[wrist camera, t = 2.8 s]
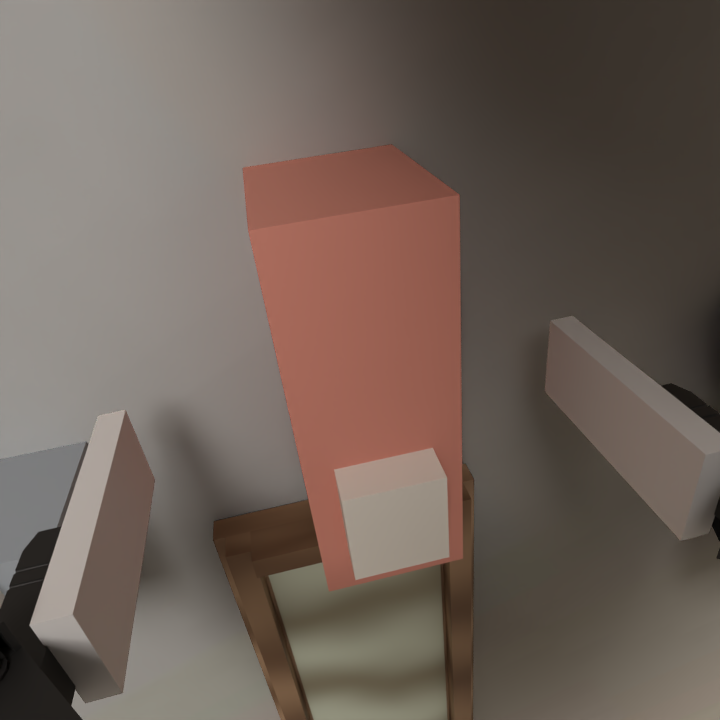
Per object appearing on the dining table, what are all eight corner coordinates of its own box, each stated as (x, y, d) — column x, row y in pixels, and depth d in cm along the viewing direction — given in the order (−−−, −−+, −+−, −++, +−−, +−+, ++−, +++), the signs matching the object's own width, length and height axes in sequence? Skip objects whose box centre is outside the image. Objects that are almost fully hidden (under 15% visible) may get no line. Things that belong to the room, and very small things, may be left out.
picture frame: (213, 521, 23) (212, 571, 21) (465, 463, 24) (487, 505, 22) (310, 785, 37) (315, 831, 35) (467, 740, 38) (481, 782, 36)
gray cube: (-46, 468, 19) (-166, 662, 13) (86, 440, 20) (26, 616, 14) (11, 551, 22) (-69, 746, 16) (128, 525, 22) (92, 704, 16)
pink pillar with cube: (242, 166, 16) (250, 250, 10) (390, 143, 17) (481, 210, 11) (307, 465, 23) (335, 625, 17) (412, 442, 23) (476, 590, 17)
